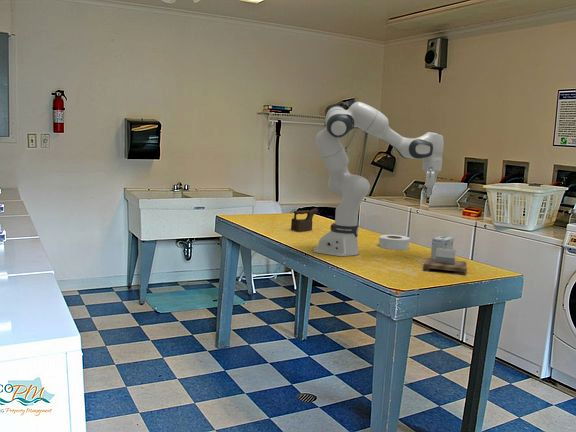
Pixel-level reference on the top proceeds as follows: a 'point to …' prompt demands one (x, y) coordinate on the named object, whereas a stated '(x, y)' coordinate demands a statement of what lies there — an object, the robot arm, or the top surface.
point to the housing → (445, 256)
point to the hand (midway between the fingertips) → (429, 196)
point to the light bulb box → (441, 244)
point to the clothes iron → (303, 220)
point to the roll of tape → (394, 242)
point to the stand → (445, 266)
